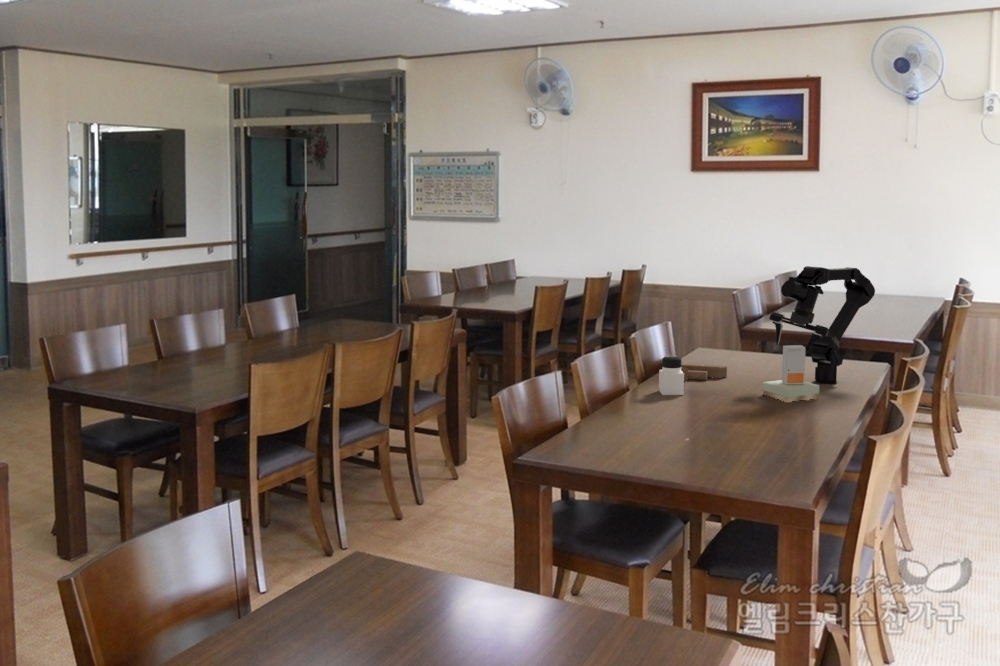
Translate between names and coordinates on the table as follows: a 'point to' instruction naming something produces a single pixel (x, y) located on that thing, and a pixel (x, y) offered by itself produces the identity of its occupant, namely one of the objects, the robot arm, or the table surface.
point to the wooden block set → (703, 371)
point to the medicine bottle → (671, 376)
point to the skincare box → (793, 365)
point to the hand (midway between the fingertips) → (790, 349)
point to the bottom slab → (790, 399)
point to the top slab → (790, 388)
